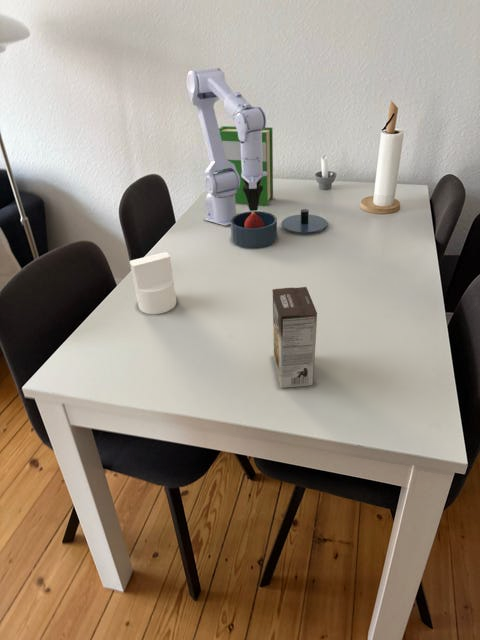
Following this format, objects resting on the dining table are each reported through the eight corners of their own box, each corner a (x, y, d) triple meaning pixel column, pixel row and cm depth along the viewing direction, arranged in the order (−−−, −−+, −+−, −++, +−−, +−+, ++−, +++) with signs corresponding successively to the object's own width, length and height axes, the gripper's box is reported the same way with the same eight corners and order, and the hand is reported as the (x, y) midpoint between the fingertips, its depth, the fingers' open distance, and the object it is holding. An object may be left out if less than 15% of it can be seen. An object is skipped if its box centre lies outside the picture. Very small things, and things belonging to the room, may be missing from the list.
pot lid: (272, 228, 147) (272, 213, 144) (298, 214, 156) (298, 199, 153) (310, 239, 139) (311, 223, 136) (336, 223, 148) (337, 207, 145)
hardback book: (273, 198, 169) (272, 127, 156) (267, 205, 163) (265, 132, 150) (227, 194, 174) (222, 126, 161) (219, 201, 169) (214, 131, 155)
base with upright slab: (145, 318, 108) (136, 272, 102) (133, 300, 115) (124, 256, 108) (182, 307, 112) (175, 261, 105) (168, 290, 118) (162, 246, 112)
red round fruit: (264, 233, 143) (264, 208, 139) (263, 241, 138) (263, 215, 134) (245, 233, 144) (244, 208, 139) (243, 241, 139) (242, 215, 135)
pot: (222, 241, 141) (221, 222, 138) (251, 226, 149) (250, 208, 146) (258, 252, 133) (257, 232, 130) (285, 236, 142) (286, 217, 138)
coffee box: (272, 358, 94) (271, 288, 85) (304, 355, 94) (307, 285, 85) (279, 389, 87) (279, 315, 78) (314, 385, 87) (318, 312, 78)
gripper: (267, 163, 122) (268, 214, 129) (265, 149, 134) (266, 195, 141) (240, 165, 122) (242, 215, 130) (240, 150, 134) (242, 197, 142)
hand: (253, 205), depth 136 cm, fingers open, 7 cm apart
